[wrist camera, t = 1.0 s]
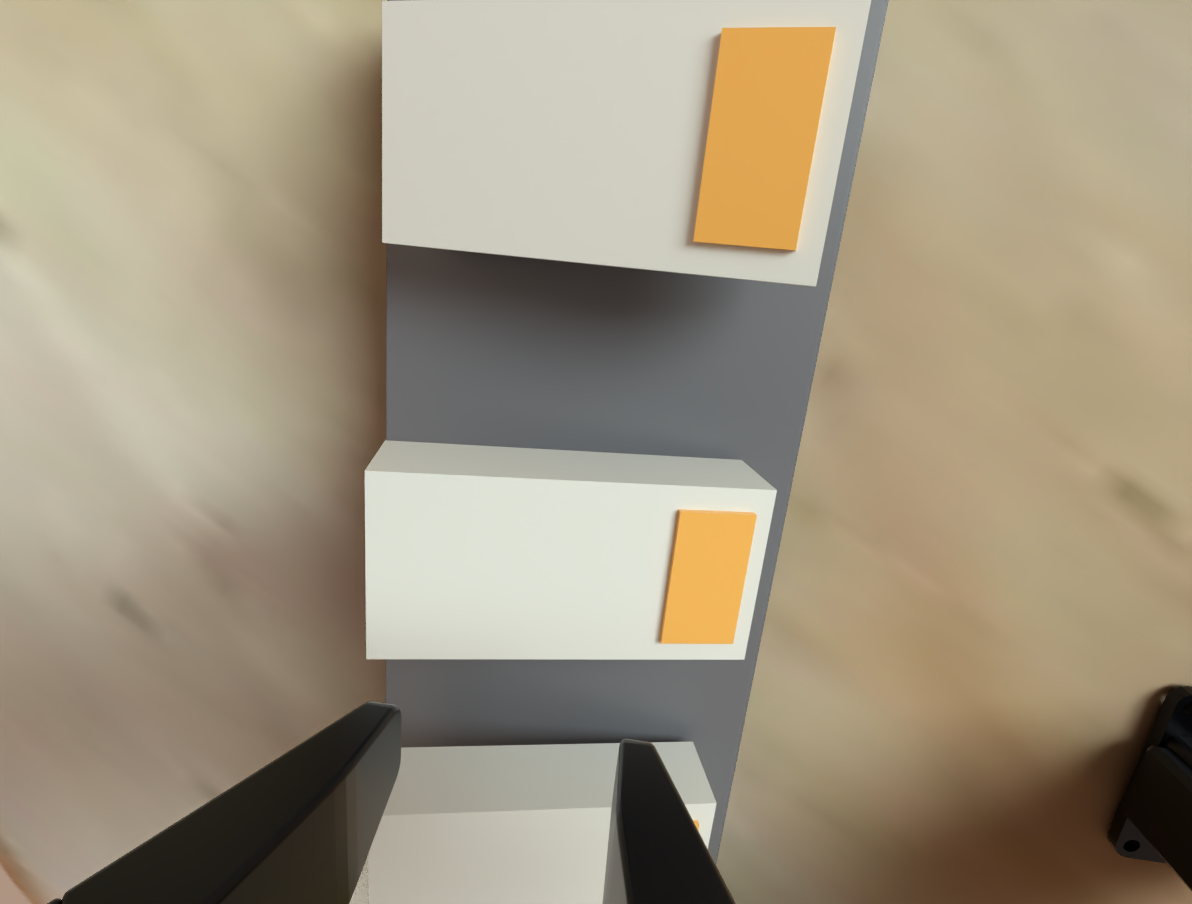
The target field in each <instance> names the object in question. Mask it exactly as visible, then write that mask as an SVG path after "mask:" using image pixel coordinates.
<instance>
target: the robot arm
mask: <svg viewBox="0 0 1192 904" xmlns="http://www.w3.org/2000/svg"><path fill="white" fill-rule="evenodd" d="M1189 702H1190V703H1189ZM1187 703H1189V704H1188V705H1186V704H1187ZM1185 705H1186V706H1185ZM400 762H401V711H400V708H399V707H398V706H397V705H394V704H387V703H380V702H367V703H365V704H363V705H361V706H360V707H358V708H356V709H355V710H353V711H352V712H350V713H348V714H347V715H345V716H344V717H342V718H341V719H339V720H337V721H336V722H334V723H333V724H331V725H329V726H328V727H326V728H325V729H323V730H322V731H320V732H318V733H317V734H315V735H314V736H312V737H310V738H309V739H307V740H306V741H304V742H303V743H301V744H299V745H298V746H296V747H295V748H293V749H291V750H290V751H288V752H287V753H285V754H284V755H282V756H280V757H279V758H277V759H276V760H274V761H273V762H271V763H269V764H268V765H266V766H265V767H263V768H261V769H260V770H258V771H257V772H255V773H254V774H252V775H250V776H249V777H247V778H246V779H244V780H242V781H241V782H239V783H238V784H236V785H235V786H233V787H231V788H230V789H228V790H227V791H225V792H223V793H222V794H220V795H219V796H217V797H216V798H214V799H212V800H211V801H209V802H208V803H206V804H205V805H203V806H201V807H200V808H198V809H197V810H195V811H193V812H192V813H190V814H189V815H187V816H186V817H184V818H182V819H181V820H179V821H178V822H176V823H174V824H173V825H171V826H170V827H168V828H167V829H165V830H163V831H162V832H160V833H159V834H157V835H155V836H154V837H152V838H151V839H149V840H148V841H146V842H144V843H143V844H141V845H140V846H138V847H136V848H135V849H133V850H132V851H130V852H129V853H127V854H125V855H124V856H122V857H121V858H119V859H118V860H116V861H114V862H113V863H111V864H110V865H108V866H106V867H105V868H103V869H102V870H100V871H99V872H97V873H95V874H94V875H92V876H91V877H89V878H87V879H86V880H84V881H83V882H81V883H80V884H78V885H76V886H75V887H73V888H72V889H70V890H68V891H67V892H66V893H65V895H64V896H63V899H62V900H61V899H58V898H57V899H54V900H52V901H51V902H49V903H47V904H349V903H350V900H351V898H352V895H353V892H354V890H355V887H356V885H357V882H358V880H359V877H360V874H361V872H362V869H363V866H364V864H365V861H366V858H367V856H368V853H369V850H370V848H371V845H372V842H373V840H374V837H375V834H376V832H377V829H378V826H379V824H380V821H381V818H382V816H383V813H384V811H385V808H386V805H387V803H388V800H389V797H390V795H391V792H392V789H393V787H394V784H395V781H396V778H397V775H398V772H399V768H400ZM1107 839H1108V841H1109V843H1110V844H1111V845H1112V846H1113V848H1114V849H1115V850H1116V851H1117V853H1119V854H1120V855H1121V856H1124V857H1128V858H1134V859H1141V860H1148V861H1154V862H1161V863H1168V865H1169V866H1170V867H1171V868H1172V869H1173V870H1174V871H1175V873H1176V874H1177V875H1178V876H1179V877H1180V878H1181V879H1182V881H1183V882H1184V883H1185V884H1186V885H1187V886H1188V888H1189V889H1190V890H1191V891H1192V687H1189V686H1184V687H1178V688H1175V689H1174V690H1172V691H1171V692H1169V694H1168V695H1167V696H1166V698H1165V700H1164V703H1163V705H1162V707H1161V710H1160V712H1159V714H1158V717H1157V719H1156V721H1155V724H1154V726H1153V728H1152V731H1151V733H1150V735H1149V738H1148V740H1147V742H1146V745H1145V747H1144V750H1143V752H1142V754H1141V757H1140V759H1139V761H1138V764H1137V766H1136V768H1135V771H1134V773H1133V775H1132V778H1131V780H1130V782H1129V785H1128V787H1127V789H1126V792H1125V794H1124V796H1123V799H1122V801H1121V803H1120V806H1119V808H1118V810H1117V813H1116V815H1115V817H1114V820H1113V822H1112V825H1111V827H1110V829H1109V832H1108V835H1107ZM602 904H735V902H734V900H733V898H732V896H731V894H730V892H729V890H728V888H727V886H726V884H725V882H724V880H723V878H722V876H721V874H720V872H719V870H718V868H717V867H716V865H715V863H714V861H713V859H712V857H711V855H710V853H709V851H708V849H707V847H706V845H705V843H704V841H703V839H702V837H701V835H700V833H699V831H698V829H697V827H696V826H695V824H694V822H693V820H692V818H691V816H690V814H689V812H688V810H687V808H686V806H685V804H684V802H683V800H682V798H681V796H680V794H679V792H678V790H677V788H676V787H675V785H674V783H673V781H672V779H671V777H670V775H669V773H668V771H667V769H666V767H665V765H664V763H663V761H662V759H661V757H660V755H659V753H658V751H657V749H656V748H655V746H654V745H653V744H652V743H650V742H646V741H639V740H633V739H623V740H622V741H621V742H620V745H619V752H618V759H617V767H616V775H615V782H614V790H613V798H612V808H611V818H610V829H609V840H608V850H607V861H606V872H605V882H604V893H603V903H602Z"/></svg>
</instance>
